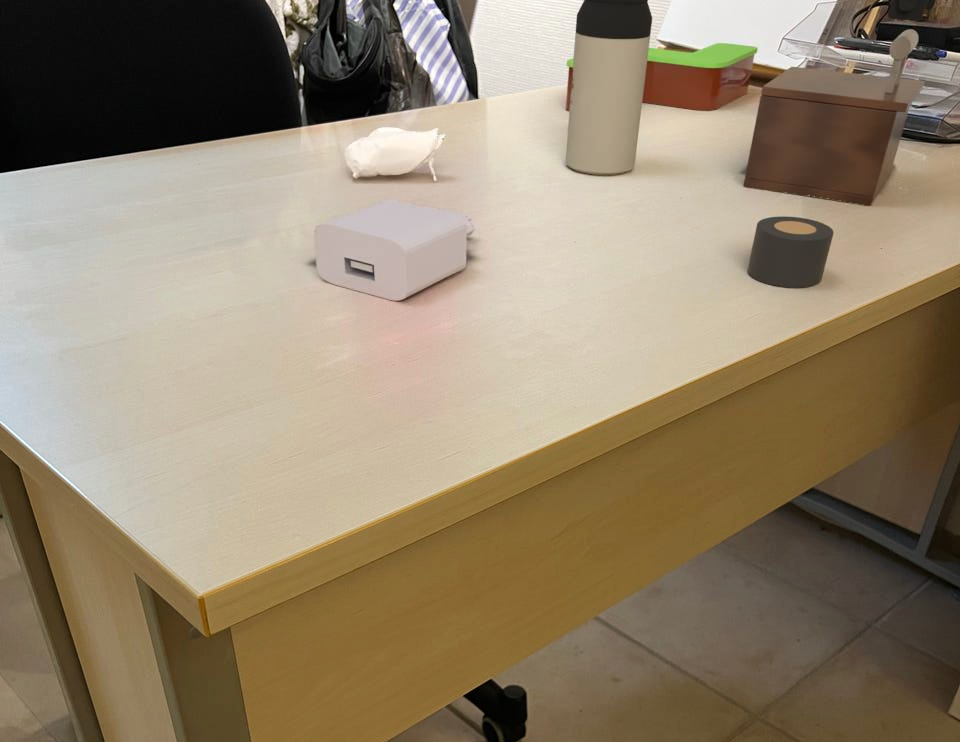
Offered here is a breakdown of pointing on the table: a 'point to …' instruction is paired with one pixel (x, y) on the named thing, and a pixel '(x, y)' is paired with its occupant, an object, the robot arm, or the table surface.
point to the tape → (789, 251)
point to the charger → (392, 248)
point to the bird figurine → (392, 152)
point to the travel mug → (607, 85)
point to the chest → (823, 149)
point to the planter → (694, 76)
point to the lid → (853, 83)
